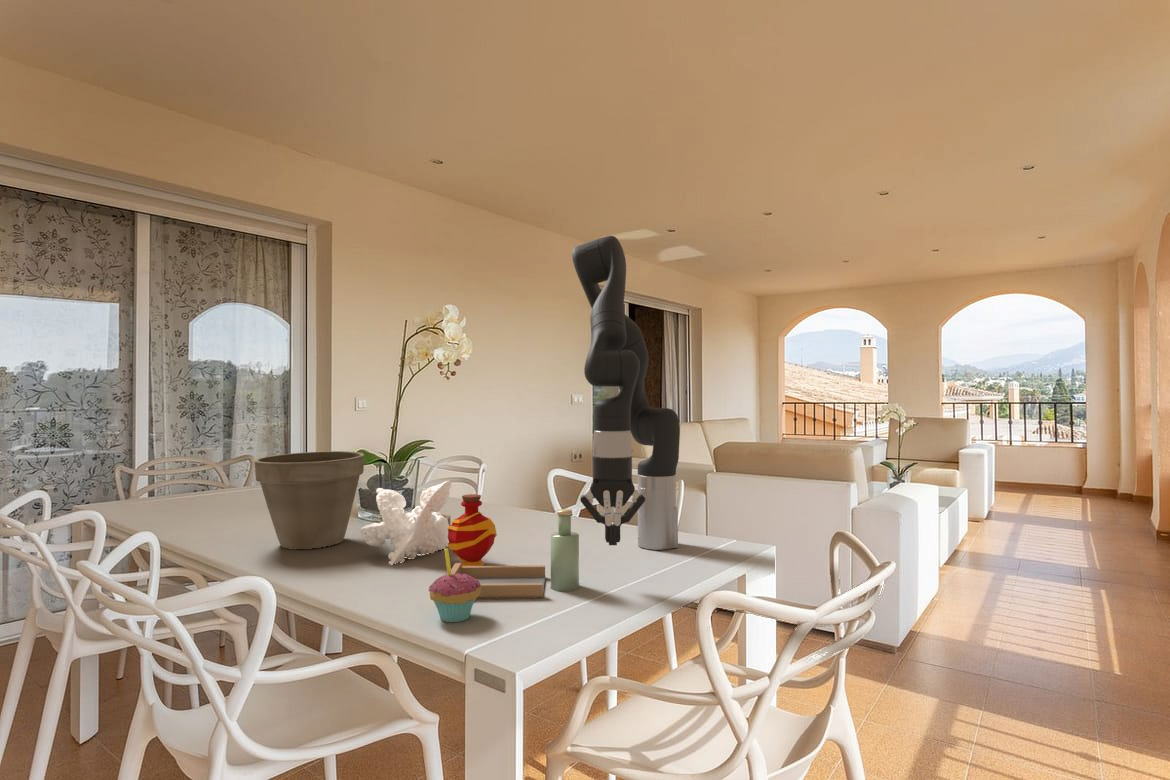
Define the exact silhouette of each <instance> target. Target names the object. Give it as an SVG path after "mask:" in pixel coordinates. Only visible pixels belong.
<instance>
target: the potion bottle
mask: <svg viewBox="0 0 1170 780" xmlns="http://www.w3.org/2000/svg"><path fill="white" fill-rule="evenodd" d="M461 497H462V502H461V503H460V506H461V507H464V513H462V514H461V515H460V516H459V517H457V518H454V519H453V520H452V521H451V523H450V526H449V527H448V543H447V548H448V551H449V550H450V551H451V550H452V551H453V553H454V555H455V556H456V557H457V559H459V560H461V562H460V563H461V566H483V565H484V566H485V563H484V562H483V561H482V559H483V558H484V557H485V556H486V555H487V554H488V553H489V551H491V549H492V546H494V543H495V538H496V537H497V535H498V534H497V529H496V525H495V523H494V522H493V520H492V519H491V517H487V516H485V515H483V513H482V512H480V511H479V507H480V506H482V504H483V501H482V500H481V499H482V498H481V497H482V495H481V494H478V493H477V494H476V493H474V494H473V493H469V494H463V495H462V496H461Z"/></svg>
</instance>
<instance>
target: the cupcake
mask: <svg viewBox="0 0 1170 780" xmlns="http://www.w3.org/2000/svg"><path fill="white" fill-rule="evenodd" d="M444 545H445V549H444V559H445V565H446V572H447V574H444V575H442V576H440V577H438V578H437V579H435V580H434V581H433V582H432V584H430V585H429V587H428V592H429V598H430V601H431V600H432V601H433V602H434V605H435V607H436V610H437V612H438V615H439V619H440V620H441V621H442V622H445V623H458V622H459V623H460V622H463V621H467V619H469V617H470V616H471V612H472V608H473V605H474V603H475V601H476V600H477V599H476V598H477V597H478V596H479V595H480V594H481V592H482V588H481V584H480V582H479V581H478V580H477V579H475V578H473V577H472V576H469V575H467V574H462V573H461V574H452V573H451V569H452V568H451V567H452V565H451V559H450V553H449V552H450V551H449V548H448V547H447V546H446V544H444Z"/></svg>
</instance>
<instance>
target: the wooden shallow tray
mask: <svg viewBox="0 0 1170 780" xmlns="http://www.w3.org/2000/svg"><path fill="white" fill-rule="evenodd" d="M461 563H462V562H455V563H454V564H453V566H451V567H452V568H451V573H452V574H461V573H462V574H467V575H469V576H472V577H473V578H475V579H477V580H478V581H479V582H480V584H481V588H482V592H481V594H480V595H479V596H478V597H477V598H476V599H475V600H480V599H481V600H488V599H490V600H493V599H502V600H503V599H506V600H507V599H543V596H544V589H545V584H546V583H545V581H546V564H541V565H539V564H537V565H536V564H534V565H533V564H532V565H531V564H530V565H529V564H528V565H525V564H524V565H484V566H461Z"/></svg>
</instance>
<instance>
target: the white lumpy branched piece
mask: <svg viewBox="0 0 1170 780" xmlns="http://www.w3.org/2000/svg"><path fill="white" fill-rule="evenodd" d="M451 486H452V481H451V480H446V481H443V482H442V483H439V484H436V485H433V486H430V487H427V489H425V490H423V491H422V492H421V495H420V497H419V504H420V505H416V506H415V508H414V509H412V510H411V511H408V512H405V509H404V508H405V507H406V505H407V501H406V499H405V497H404V496H403V495H402V494H401V493H399V492H398V491H396V490H392V489H388V488H387V489H385V488H382V487H378V488H376V489H375V492H376V494H377V495H376V497H375V500H376V501H375V502H376V504H377V509H378V510H379V514H380V515H381V517H382V520H383V521H384V522H381V523H380V522H373V523H371V524H366V525H364V526H362V527H361V528H360V529H359V530H360V533H361V537H362V538H363V542H365V544H367V545H368V546H371V547H382V546H384V545H385V544H386V540H389V544H390V545H391V546H392V548H393V551H391V552H389V553H388V559H389V561H388V563H389V564H395V563H397V562H403V561H405V562H406V559H408V558H414V559H416V558H417V556H416V555H417V554H421V555H422V554H427V553H432V554H435V553H436V552H439V551H438V550H441V551H443V550H442V549H445V545H444V544H446V547H448V543H449V541H448V527H449V524H448V520H447V519H446V518H445V517H444V516H440V515H441V514H442V513H441V510H442V509H443V508H444V507H445V505H446V503H447V501H448V498H449V496H450V492H451V491H450V489H451V488H452V487H451ZM435 551H436V552H435ZM427 555H428V554H427ZM404 557H407V558H405V559H404ZM403 563H404V562H403ZM389 564H388V565H389ZM397 564H398V563H397Z"/></svg>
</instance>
